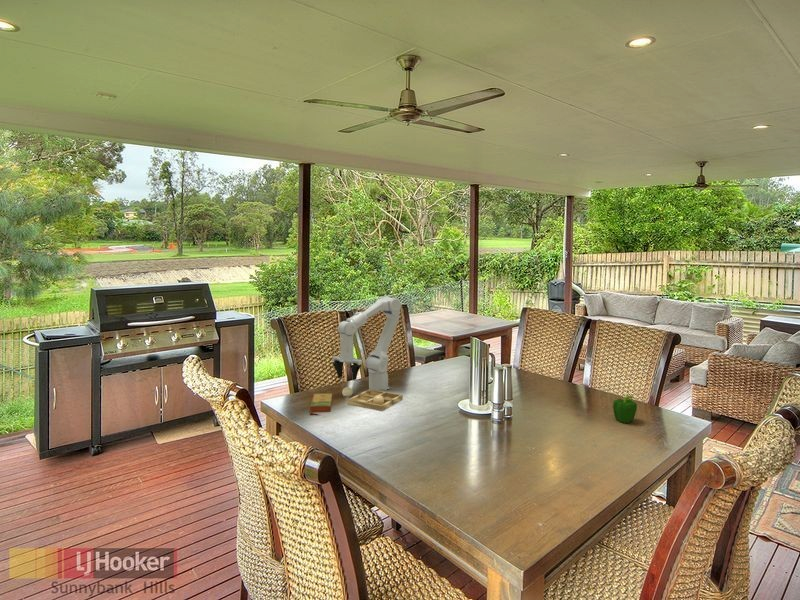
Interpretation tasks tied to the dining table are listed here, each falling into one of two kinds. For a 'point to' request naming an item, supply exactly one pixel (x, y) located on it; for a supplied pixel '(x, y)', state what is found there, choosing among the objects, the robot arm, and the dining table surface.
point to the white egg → (347, 391)
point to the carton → (321, 403)
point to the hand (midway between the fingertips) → (347, 378)
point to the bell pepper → (624, 409)
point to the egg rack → (367, 399)
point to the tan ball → (378, 400)
